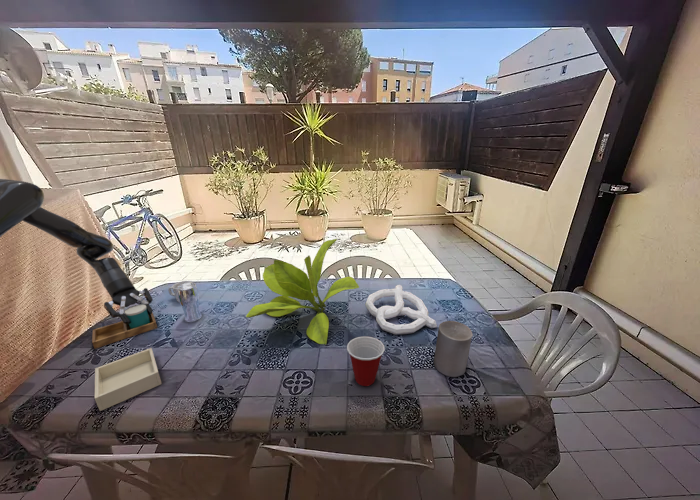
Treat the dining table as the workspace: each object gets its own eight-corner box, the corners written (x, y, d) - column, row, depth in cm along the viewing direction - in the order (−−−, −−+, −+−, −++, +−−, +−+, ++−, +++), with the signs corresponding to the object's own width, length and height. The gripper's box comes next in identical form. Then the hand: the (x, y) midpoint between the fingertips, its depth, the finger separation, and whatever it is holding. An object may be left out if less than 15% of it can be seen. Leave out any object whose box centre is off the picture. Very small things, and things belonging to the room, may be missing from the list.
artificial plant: (276, 306, 131) (231, 268, 113) (347, 254, 132) (315, 208, 114) (294, 381, 98) (235, 345, 80) (390, 310, 99) (353, 259, 81)
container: (131, 334, 99) (125, 315, 97) (129, 326, 104) (123, 308, 101) (152, 327, 103) (147, 309, 101) (150, 320, 108) (145, 302, 105)
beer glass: (207, 316, 112) (200, 284, 107) (191, 325, 106) (183, 291, 101) (195, 312, 114) (188, 280, 109) (179, 321, 108) (171, 288, 103)
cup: (165, 304, 121) (161, 288, 118) (176, 295, 128) (173, 280, 125) (189, 305, 120) (185, 288, 118) (199, 296, 128) (196, 280, 125)
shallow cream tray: (100, 412, 70) (94, 398, 69) (100, 381, 80) (94, 368, 78) (162, 384, 79) (158, 371, 77) (155, 359, 88) (151, 347, 87)
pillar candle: (435, 352, 92) (440, 314, 87) (466, 360, 89) (473, 321, 84) (431, 372, 84) (437, 331, 79) (465, 381, 80) (473, 340, 75)
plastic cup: (378, 363, 87) (379, 332, 83) (387, 391, 77) (389, 357, 73) (344, 367, 86) (344, 335, 81) (349, 395, 75) (349, 361, 71)
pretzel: (442, 330, 106) (445, 317, 103) (389, 347, 98) (391, 334, 95) (403, 290, 129) (405, 279, 126) (358, 301, 121) (359, 289, 118)
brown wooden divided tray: (95, 350, 92) (92, 342, 91) (95, 337, 99) (92, 329, 98) (158, 329, 104) (156, 322, 102) (154, 318, 110) (152, 311, 109)
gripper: (93, 285, 95) (118, 324, 93) (140, 271, 107) (162, 305, 105) (92, 295, 99) (115, 332, 98) (137, 280, 111) (158, 313, 109)
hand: (140, 318), depth 101 cm, fingers closed on container, 6 cm apart
